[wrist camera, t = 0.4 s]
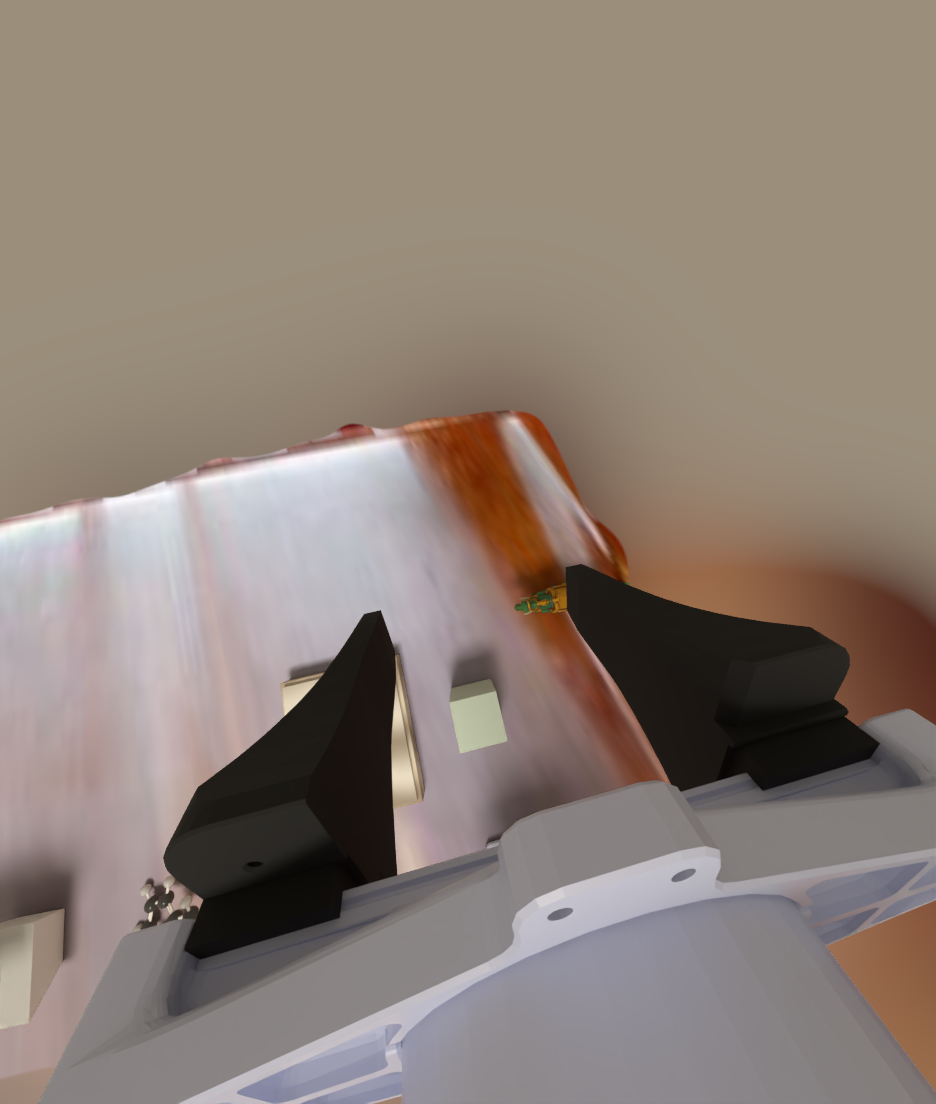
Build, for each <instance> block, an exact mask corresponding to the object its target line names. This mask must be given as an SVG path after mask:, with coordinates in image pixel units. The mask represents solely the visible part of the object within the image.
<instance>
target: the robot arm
mask: <svg viewBox="0 0 936 1104" xmlns="http://www.w3.org/2000/svg"><path fill="white" fill-rule="evenodd" d="M566 596H567V611H568V613H569V615H570V617H571V619H572V621H573V622H574V624H575V626H576V628H577V630H578V631H579V633H580V634H581V636H582V637H583V638H584V640H585V641H586V643H587V644H588V645H589V647H590V648H591V649H592V651H593V652H594V653H595V655H596V656H597V658H598V659H599V660H600V662H601V663H602V664H603V666H604V667H605V668H606V670H607V671H608V673H609V674H610V675H611V677H612V678H613V680H614V681H615V683H616V684H617V686H618V687H619V689H620V690H621V692H622V694H623V696H624V697H625V699H626V701H627V702H628V704H629V706H630V707H631V709H632V711H633V713H634V714H635V716H636V718H637V720H638V722H639V723H640V725H641V727H642V729H643V731H644V732H645V734H646V736H647V738H648V740H649V742H650V744H651V746H652V747H653V749H654V751H655V753H656V755H657V757H658V759H659V761H660V763H661V765H662V767H663V768H664V771H665V773H666V775H667V777H668V779H669V781H670V783H671V785H670V784H667V783H664V782H661V781H659V780H655V781H647V782H640V783H635V784H632V785H628V786H625V787H621V788H618V789H615V790H611V791H608V792H604V793H601V794H597V795H594V796H590V797H587V798H583V799H580V800H576V801H573V802H570V803H566V804H563V805H559V806H556V807H552V808H549V809H545V810H542V811H538V812H536V813H534V814H531V815H529V816H527V817H525V818H522V819H520V820H518V821H516V822H515V823H514V824H513V825H512V826H511V827H510V828H509V829H507V830H506V831H505V832H504V833H503V835H502V837H501V839H499V840H496V841H492V842H489V843H488V844H487V846H486V849H485V850H481V851H478V852H475V853H471V854H468V855H464V856H461V857H458V858H454V859H451V860H447V861H444V862H441V863H437V864H434V865H430V866H427V867H424V868H420V869H417V870H413V871H410V872H407V873H403V874H400V875H397V864H396V850H395V832H394V813H393V789H392V752H391V744H392V726H393V713H394V700H395V687H396V660H395V650H394V647H393V644H392V641H391V638H390V636H389V633H388V630H387V627H386V624H385V621H384V618H383V616H382V613H381V610H380V611H376V612H371V613H367V614H364V615H363V617H362V618H361V620H360V621H359V623H358V624H357V626H356V628H355V629H354V631H353V632H352V634H351V635H350V637H349V639H348V640H347V642H346V643H345V645H344V646H343V648H342V649H341V650H340V652H339V653H338V655H337V656H336V658H335V659H334V660H333V662H332V663H331V664H330V666H329V667H328V668H327V670H326V671H325V672H324V674H323V675H322V676H321V678H320V679H319V680H318V681H317V682H316V684H315V685H314V686H313V687H312V688H311V689H310V690H309V692H308V693H307V694H306V695H305V696H304V697H303V698H302V699H301V700H300V701H299V702H298V703H297V704H296V705H295V706H294V707H293V708H292V709H291V710H290V711H289V712H288V713H287V714H286V715H285V716H284V717H283V718H282V719H281V720H280V721H279V722H278V723H277V724H276V725H275V726H274V727H273V728H272V729H271V730H269V731H268V732H267V733H266V734H265V735H264V736H263V737H262V738H260V739H259V740H258V741H257V742H256V743H255V744H253V745H252V746H251V747H250V748H249V749H247V750H246V751H245V752H244V753H242V754H241V755H240V756H239V757H238V758H236V759H235V760H234V761H232V762H231V763H230V764H228V765H227V766H226V767H224V768H223V769H222V770H220V771H219V772H218V773H216V774H215V775H214V776H213V777H211V778H210V779H209V780H207V781H206V782H205V783H203V784H202V785H200V786H199V787H198V788H197V790H196V792H195V794H194V795H193V797H192V799H191V801H190V803H189V805H188V807H187V809H186V811H185V813H184V815H183V817H182V819H181V821H180V823H179V825H178V827H177V829H176V831H175V833H174V834H173V836H172V838H171V840H170V842H169V844H168V846H167V848H166V851H165V854H164V857H163V859H164V863H165V867H166V869H167V871H168V872H169V873H170V874H171V875H172V876H173V877H174V878H175V879H177V880H178V881H179V882H181V883H182V884H183V885H185V886H186V887H187V888H189V889H190V890H191V891H193V892H194V893H195V894H197V895H198V896H199V897H201V898H202V899H203V902H202V905H201V907H200V910H199V913H198V915H197V918H196V920H194V919H179V920H173V921H170V922H167V923H163V924H160V925H156V926H153V927H149V928H146V929H142V930H139V931H135V932H132V933H129V934H127V935H126V936H124V937H123V938H122V939H121V941H120V943H119V945H118V947H117V949H116V951H115V953H114V955H113V957H112V958H111V960H110V962H109V964H108V966H107V968H106V970H105V972H104V974H103V976H102V978H101V980H100V982H99V984H98V986H97V988H96V990H95V992H94V994H93V996H92V998H91V1000H90V1002H89V1004H88V1006H87V1008H86V1010H85V1012H84V1014H83V1016H82V1018H81V1020H80V1021H79V1023H78V1025H77V1027H76V1029H75V1031H74V1033H73V1035H72V1037H71V1039H70V1041H69V1043H68V1045H67V1047H66V1049H65V1051H64V1053H63V1055H62V1057H61V1059H60V1061H59V1063H58V1065H57V1067H56V1069H55V1071H54V1073H53V1075H52V1077H51V1079H50V1081H49V1083H48V1085H47V1086H46V1088H45V1090H44V1092H43V1094H42V1096H41V1098H40V1100H39V1102H38V1104H373V1103H377V1102H381V1101H384V1100H388V1099H391V1098H395V1097H399V1096H402V1104H936V1092H935V1091H934V1090H933V1088H932V1087H931V1085H930V1084H929V1083H928V1082H927V1080H926V1079H925V1077H924V1076H923V1075H922V1073H921V1072H920V1071H919V1070H918V1068H917V1067H916V1066H915V1064H914V1063H913V1062H912V1060H911V1059H910V1057H909V1056H908V1055H907V1053H906V1052H905V1051H904V1050H903V1048H902V1047H901V1046H900V1044H899V1043H898V1041H897V1040H896V1039H895V1038H894V1036H893V1035H892V1034H891V1032H890V1031H889V1030H888V1028H887V1027H886V1026H885V1024H884V1023H883V1022H882V1020H881V1019H880V1018H879V1016H878V1015H877V1014H876V1012H875V1011H874V1010H873V1008H872V1007H871V1006H870V1004H869V1003H868V1002H867V1000H866V999H865V998H864V996H863V995H862V994H861V992H860V991H859V990H858V988H857V987H856V986H855V984H854V983H853V982H852V980H851V979H850V978H849V976H848V975H847V974H846V972H845V971H844V970H843V968H842V967H841V966H840V964H839V963H838V962H837V961H836V959H835V958H834V956H833V955H832V954H831V952H830V951H829V950H828V948H827V947H826V946H827V945H829V944H832V943H834V942H836V941H839V940H841V939H843V938H846V937H848V936H850V935H853V934H855V933H858V932H860V931H862V930H865V929H867V928H869V927H872V926H874V925H877V924H879V923H881V922H884V921H886V920H889V919H890V918H893V917H896V916H898V915H901V914H903V913H905V912H908V911H910V910H912V909H915V908H918V907H920V906H923V905H925V904H927V903H930V902H932V901H935V900H936V726H935V725H934V724H932V723H931V722H929V721H928V720H926V719H924V718H923V717H921V716H920V715H918V714H917V713H915V712H914V711H912V710H910V709H902V710H899V711H895V712H892V713H888V714H885V715H882V716H878V717H875V718H871V719H869V720H867V721H865V722H864V723H862V724H861V725H859V726H856V725H855V724H854V723H852V722H851V721H850V720H848V719H847V718H846V717H844V716H845V715H847V714H848V710H847V708H846V707H844V706H843V705H841V704H840V703H839V702H838V701H836V700H835V699H834V697H835V695H836V693H837V691H838V690H839V688H840V686H841V684H842V682H843V680H844V678H845V676H846V674H847V671H848V669H849V666H850V657H849V654H848V652H847V650H846V649H845V648H843V647H842V646H840V645H839V644H837V643H835V642H834V641H832V640H830V639H829V638H827V637H826V636H824V635H822V634H821V633H819V632H817V631H816V630H814V629H813V628H811V627H804V626H795V625H787V624H778V623H770V622H762V621H756V620H749V619H744V618H738V617H733V616H728V615H723V614H718V613H714V612H710V611H705V610H701V609H697V608H693V607H689V606H686V605H683V604H679V603H676V602H673V601H670V600H666V599H663V598H660V597H658V596H655V595H652V594H650V593H647V592H644V591H642V590H639V589H637V588H634V587H631V586H629V585H627V584H625V583H622V582H620V581H618V580H616V579H614V578H611V577H609V576H607V575H605V574H603V573H600V572H598V571H596V570H594V569H592V568H589V567H587V566H584V565H582V564H579V565H575V566H570V567H566Z"/></svg>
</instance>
